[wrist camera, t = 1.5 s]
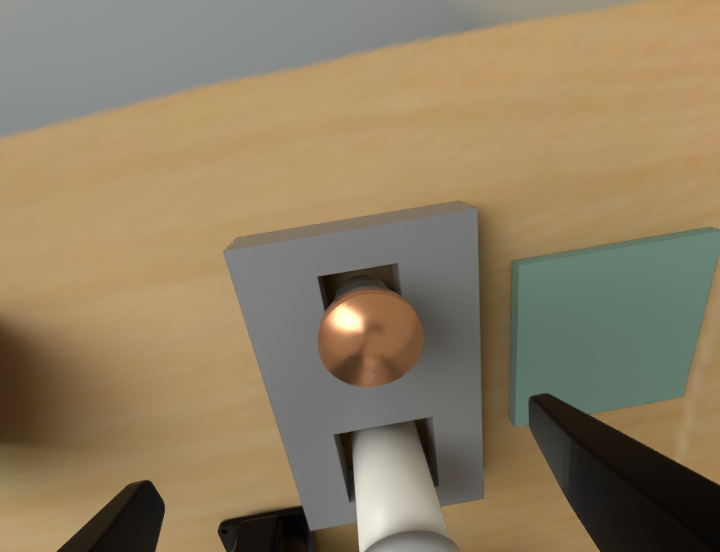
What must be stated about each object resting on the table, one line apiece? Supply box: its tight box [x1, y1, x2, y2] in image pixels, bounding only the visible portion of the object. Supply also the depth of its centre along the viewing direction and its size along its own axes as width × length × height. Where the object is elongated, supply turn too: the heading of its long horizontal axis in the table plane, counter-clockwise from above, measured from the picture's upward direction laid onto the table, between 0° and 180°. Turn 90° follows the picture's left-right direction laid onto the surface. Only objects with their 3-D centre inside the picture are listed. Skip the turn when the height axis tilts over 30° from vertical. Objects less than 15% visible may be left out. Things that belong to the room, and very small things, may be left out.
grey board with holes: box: [223, 201, 484, 531], centre depth 21 cm, size 20×12×2 cm, turn 9°
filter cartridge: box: [351, 420, 459, 552], centre depth 19 cm, size 5×5×9 cm
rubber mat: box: [509, 227, 720, 427], centre depth 22 cm, size 12×12×1 cm
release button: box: [318, 275, 424, 387], centre depth 16 cm, size 4×4×4 cm
